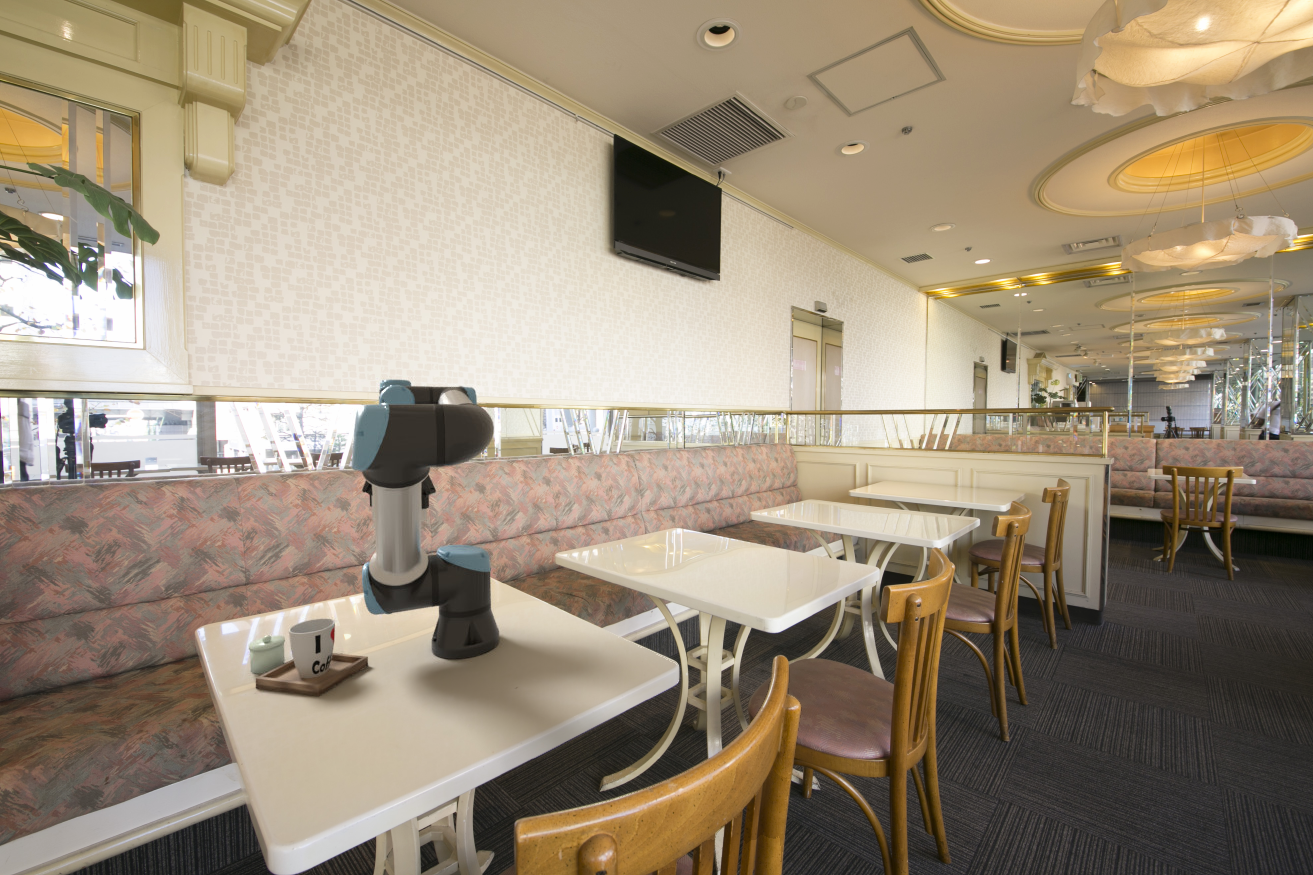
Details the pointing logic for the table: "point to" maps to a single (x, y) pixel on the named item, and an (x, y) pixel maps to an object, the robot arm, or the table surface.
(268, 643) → the sugar pot
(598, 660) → the table surface
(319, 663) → the cup
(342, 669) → the tray
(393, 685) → the table surface
